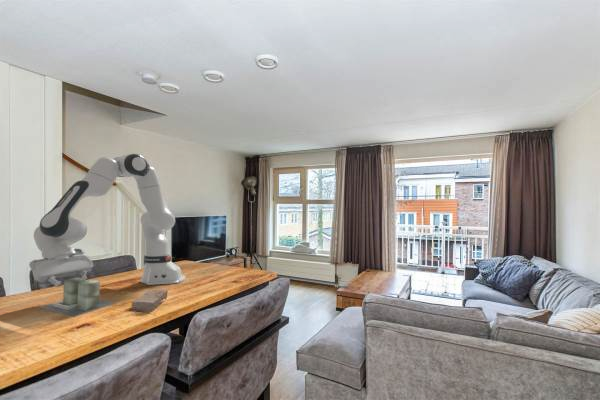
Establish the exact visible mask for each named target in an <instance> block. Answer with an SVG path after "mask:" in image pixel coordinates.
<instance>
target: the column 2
mask: <svg viewBox="0 0 600 400" xmlns="http://www.w3.org/2000/svg"><path fill="white" fill-rule="evenodd" d="M100 288H101V281H100V280H94V279H91V280H90V279H89V280H86V281H85V282H80V283H78V301H77V309H81V310H85V311H86V310H89V309H93V308H96V307H99V300H100Z"/></svg>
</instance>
